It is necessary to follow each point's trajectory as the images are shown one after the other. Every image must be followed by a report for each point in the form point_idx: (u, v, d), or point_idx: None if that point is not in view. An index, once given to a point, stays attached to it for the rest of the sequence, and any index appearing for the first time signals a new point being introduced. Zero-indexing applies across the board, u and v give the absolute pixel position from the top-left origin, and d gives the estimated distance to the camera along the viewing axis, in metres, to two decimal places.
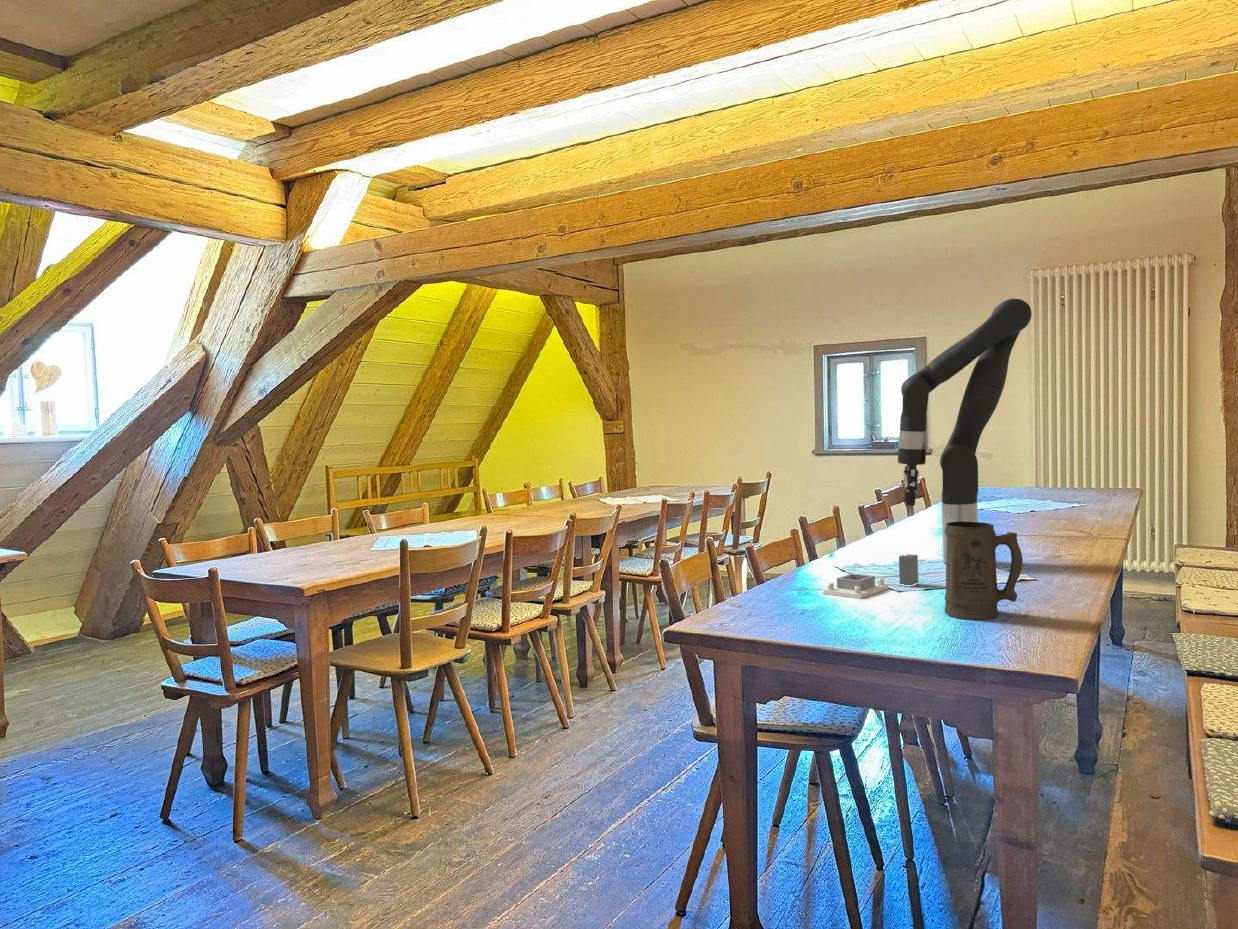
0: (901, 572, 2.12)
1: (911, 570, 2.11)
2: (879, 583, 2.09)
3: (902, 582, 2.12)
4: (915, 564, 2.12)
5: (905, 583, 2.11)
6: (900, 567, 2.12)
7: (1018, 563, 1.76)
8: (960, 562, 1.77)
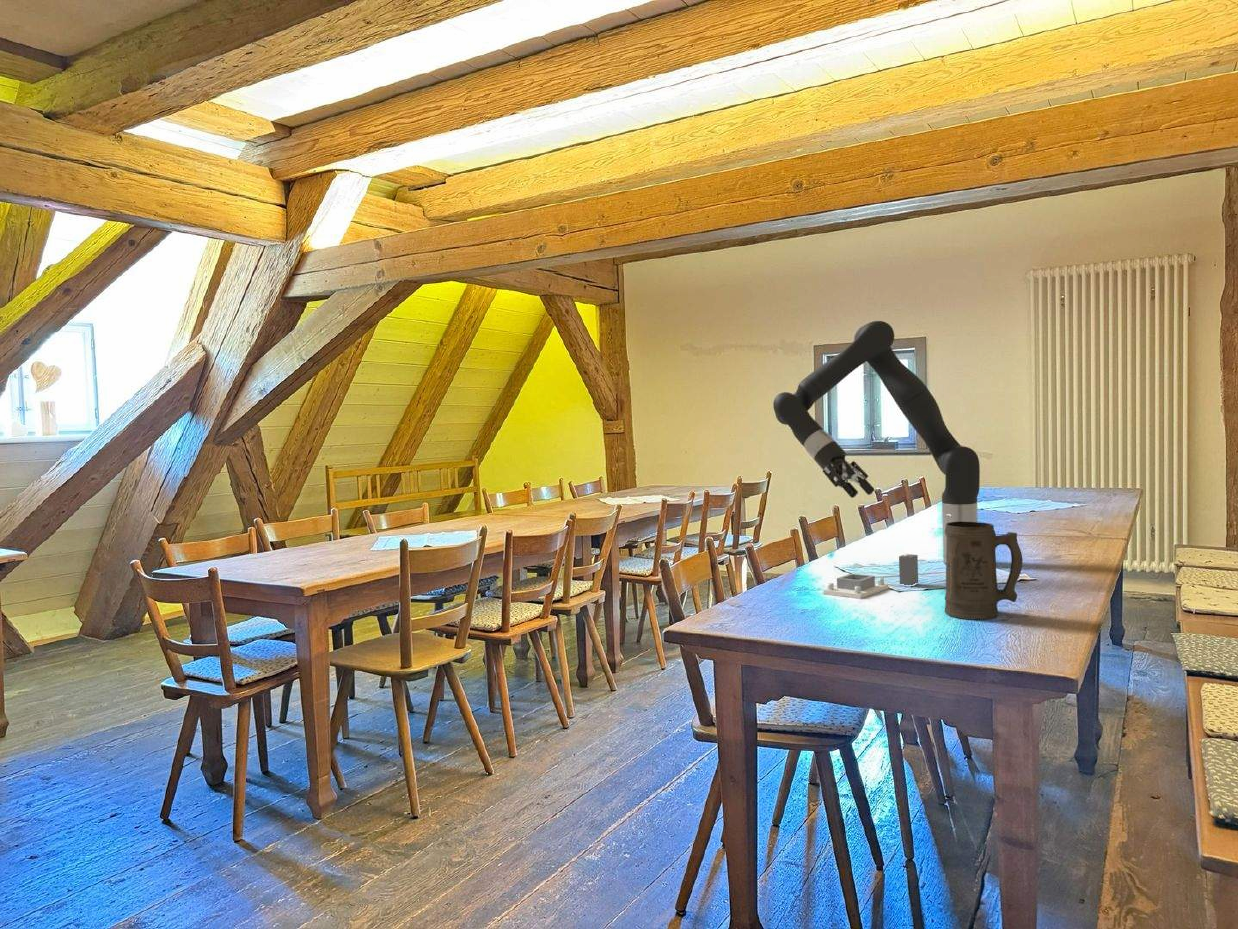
0: (901, 572, 2.12)
1: (911, 570, 2.11)
2: (879, 583, 2.09)
3: (902, 582, 2.12)
4: (915, 564, 2.12)
5: (905, 583, 2.11)
6: (900, 567, 2.12)
7: (1018, 563, 1.76)
8: (960, 562, 1.77)
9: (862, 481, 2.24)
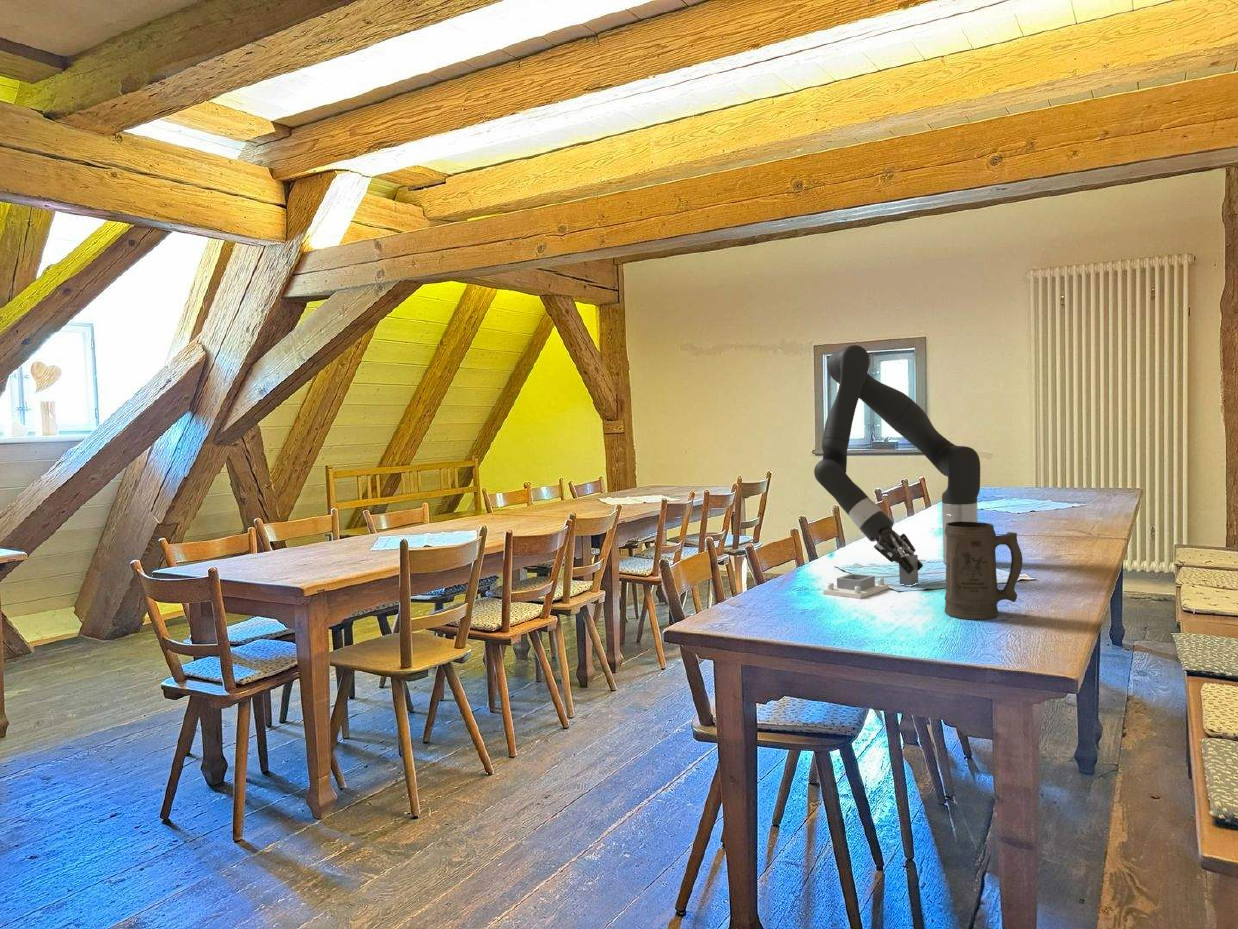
0: (901, 572, 2.12)
1: None
2: (879, 583, 2.09)
3: (902, 582, 2.12)
4: (915, 564, 2.12)
5: (905, 583, 2.11)
6: (900, 567, 2.12)
7: (1018, 563, 1.76)
8: (960, 562, 1.77)
9: None
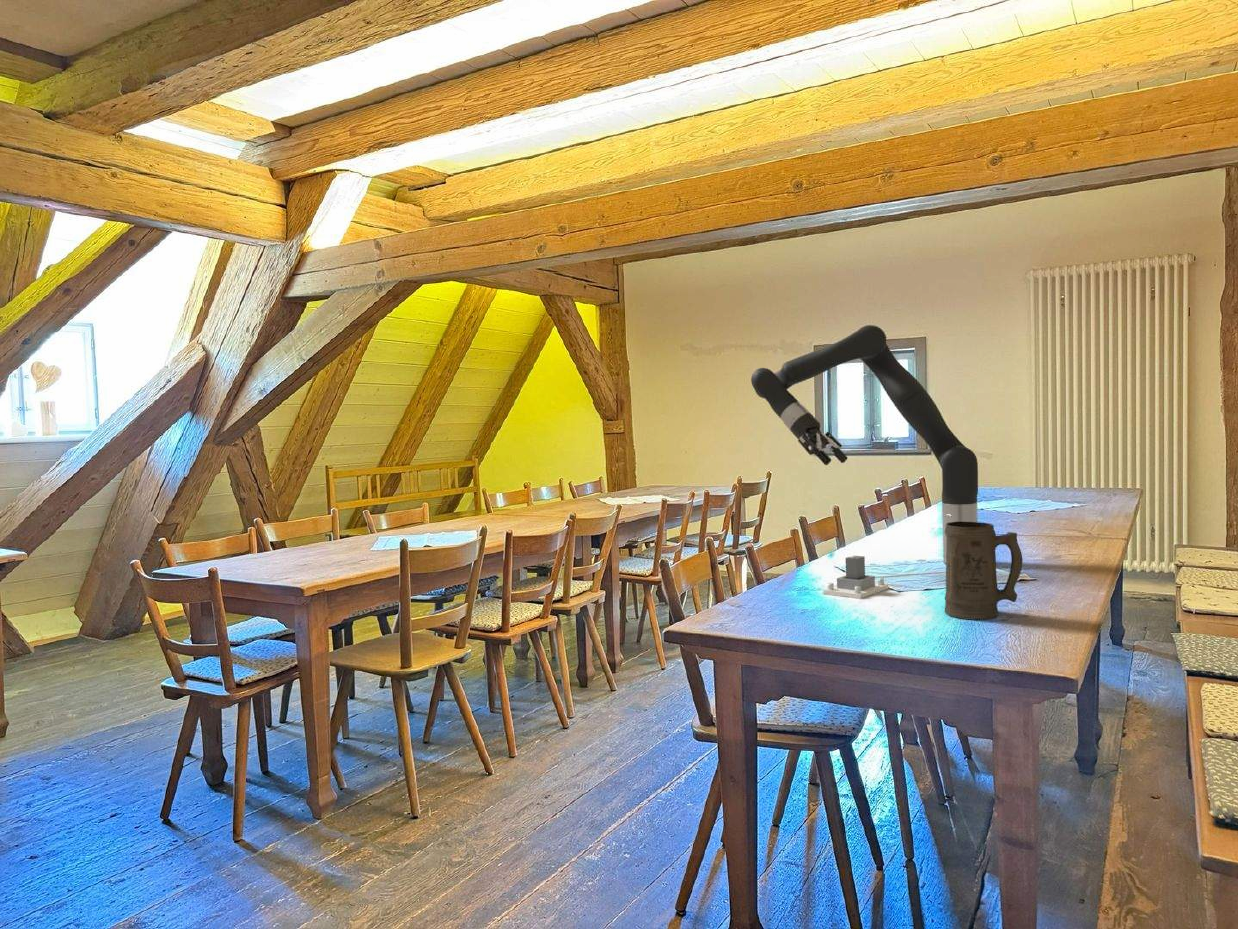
0: (848, 574, 2.07)
1: (858, 572, 2.06)
2: (879, 583, 2.09)
3: None
4: (862, 566, 2.08)
5: None
6: (847, 569, 2.08)
7: (1018, 563, 1.76)
8: (960, 562, 1.77)
9: (835, 450, 2.37)
